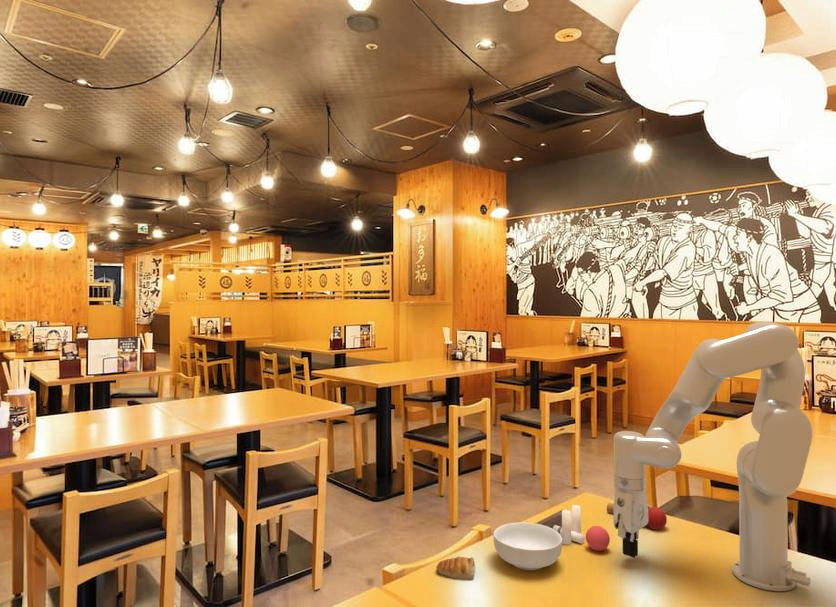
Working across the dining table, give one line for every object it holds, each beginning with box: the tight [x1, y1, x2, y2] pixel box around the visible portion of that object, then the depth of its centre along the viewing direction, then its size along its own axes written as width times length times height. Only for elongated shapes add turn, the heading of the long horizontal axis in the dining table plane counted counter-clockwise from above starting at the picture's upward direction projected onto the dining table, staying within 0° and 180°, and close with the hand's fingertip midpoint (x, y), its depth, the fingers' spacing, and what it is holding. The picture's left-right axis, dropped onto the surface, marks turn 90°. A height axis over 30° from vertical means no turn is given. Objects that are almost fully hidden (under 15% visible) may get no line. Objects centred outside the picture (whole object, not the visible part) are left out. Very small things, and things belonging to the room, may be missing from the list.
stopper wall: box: [535, 509, 563, 529], centre depth 153 cm, size 2×16×4 cm, turn 133°
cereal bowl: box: [493, 521, 563, 571], centre depth 136 cm, size 17×17×7 cm
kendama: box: [606, 502, 668, 530], centre depth 160 cm, size 8×6×18 cm
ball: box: [585, 525, 611, 552], centre depth 143 cm, size 6×6×6 cm
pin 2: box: [571, 504, 582, 534], centre depth 150 cm, size 2×2×8 cm
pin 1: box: [562, 509, 572, 546], centre depth 147 cm, size 2×2×8 cm
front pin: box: [553, 525, 586, 545], centre depth 149 cm, size 2×2×8 cm
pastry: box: [435, 555, 476, 580], centre depth 131 cm, size 9×7×4 cm
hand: (630, 554), depth 136 cm, fingers closed
